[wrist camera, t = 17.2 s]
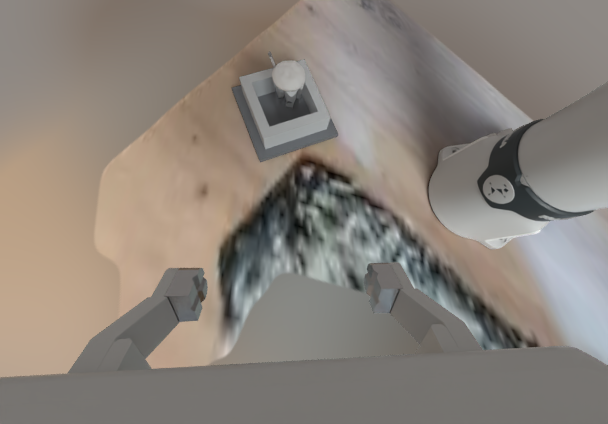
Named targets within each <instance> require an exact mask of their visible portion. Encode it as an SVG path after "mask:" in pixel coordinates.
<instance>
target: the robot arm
mask: <svg viewBox="0 0 608 424" xmlns="http://www.w3.org/2000/svg"><path fill="white" fill-rule="evenodd" d="M453 152H454V153H453ZM429 199H430V203H431V206H432V209H433V211H434V213H435V215H436V216H437V218H438V219H439V220H440V222H441V223H442V224H443V225H444V226H445V227H446V228H448V229H449V230H450V231H452V232H453V233H455V234H457V235H459V236H462V237H465V238H469V239H474V240H477V241H479V242H480V243H481V244H483V245H484V246H486V247H488V248H490V249H498V248H501V247H503V246H504V245H505V244H506V243H508V242H509V241H510V240H511V239H513V238H514V237H519V236H526V235H532V234H536V233H539V232H540V229H542V228H544V227H545V226H546V225H547V224H548V223H549V222H550V221H553V220H565V219H571V218H574V217H577V216H582V215H586V214H589V213H591V212H593V211H594V210H597V209H603V208H608V82H606V83H605V84H603V85H601V86H600V87H598V88H596V89H595V90H594V91H592V92H590V93H589V94H587V95H585V96H584V97H582V98H580V99H579V100H577V101H575V102H574V103H572V104H570V105H569V106H567V107H565V108H563V109H562V110H560V111H558V112H556V113H555V114H553V115H551V116H549V117H547V118H546V119H540V120H536V121H533V122H531V123H529V124H526V125H525V126H524V125H523V126H521V127H519V128H517V129H515V130H514V131H513V130H512V129H506V130H503V131H501V132H499V133H497V134H496V133H492V134H489V135H487V136H484V137H482V138H480V139H478V140H476V141H474V142H472V143H468V144H461V145H454V146H447V147H445V148H443V149H441V150H440V152H439V157H438V165H437V167H436V169H435V171H434V173H433V174H432V177H431V179H430V183H429ZM367 271H368V273H367V274H366V275H365V278H364V286H365V290H366V293H367V294H368V295H369V296H370V300H369V302H370V305H371V308H372V311H373V313H390V314H391V315H392V316H393V317H394V318H395V319H396V320H397V321H398V323H400V325H401V326H402V327H403V328H404V329H405V330H406V331H407V332H408V333H409V334H410V335H411V336H412V337H413V338H414V339H415V340H416V341H417V342H418V343H419V344H420V346H419V347H418V349H417V351H416V352H415V354H408V355H391V356H373V357H355V358H337V359H320V360H319V359H318V360H301V361H283V362H267V363H266V362H265V363H248V364H230V365H213V366H195V367H177V368H159V369H151V367H150V365H149V364H148V363H147V361H146V360H145V359H146V358H147V357H148V355H149V354H150V353H151V352H152V351H153V350H154V349H155V348H156V347H157V346H158V345H159V344H160V343H161V342H162V341H163V339H164V338H165V337H166V336H167V335H168V334H169V333H170V332H171V331H172V330H173V329H174V328H175V327H176V326H177V325H178V323H179V322H184V321H198V319H199V316H200V313H201V310H202V305H201V302H202V301H204V300H205V298H206V295H207V288H208V287H207V280H206V279H205V278H204V277H203V276H204V271H203V268H169V269H167V270H166V271H165V273H164V275H163V277H162V279H161V280H160V282H159V284H158V286H157V288H156V289H155V291H154V293H153V295H152V297H150V298H146V299H145V300H144V301H142V302H141V303H140V304H138V305H137V306H135V307H134V308H133V309H131V310H130V311H129V312H127V313H126V314H125V315H123V316H122V317H120V318H119V319H118V320H116V321H115V322H114V323H112V324H111V325H110V326H108V327H107V328H106V329H104V330H103V331H101V332H100V333H99V334H97V335H96V336H95V337H93V338H92V339H91V340H90V341H89V343H88V344H87V346H86V347H85V349H84V350H83V352H82V353H81V355H80V356H79V357H78V359H77V360H76V362H75V363H74V365H73V366H72V368H71V369H70V370H69V372H68V373H67V374H51V375H34V376H15V377H0V424H608V365H606V364H604V363H603V362H601V361H599V360H598V359H596V358H594V357H592V356H591V355H589V354H587V353H585V352H583V351H581V350H579V349H577V348H574V347H570V346H549V347H532V348H514V349H496V350H482V348H481V347H480V345H479V344H478V342H477V341H476V339H475V338H474V336H473V335H472V333H471V332H470V330H469V329H468V327H467V326H466V324H465V323H464V322H463V321H462V320H460V319H459V318H457V317H456V316H455V315H453V314H452V313H450V312H449V311H448V310H446V309H445V308H443V307H442V306H441V305H439V304H438V303H436V302H435V301H434V300H432V299H431V298H429V297H428V296H427V295H425V294H424V293H422V292H421V291H420V290H418V289H414V288H413V286H412V284H411V282H410V280H409V279H408V277H407V275H406V273H405V272H404V270H403V268H402V266H401V265H400V263H370V264H368V267H367Z"/></svg>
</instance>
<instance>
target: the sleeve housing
mask: <svg viewBox="0 0 608 424" xmlns="http://www.w3.org/2000/svg"><path fill="white" fill-rule="evenodd" d="M296 62H297V63H298V64H300V65H301V66H302V67H303V69H304V71H305V82H304V86H303V90H302V94H301V98H300V103H299V108H298V112H297V116H296V117H295V118H294V119H292V120H285V119H283V118H282V117H280V114H279V112H278V106H277V100H276V94H275V88H274V83H273V78H272V72H273V69H274V68H271V69H267V70H263V71H260V72H256V73H252V74H249V75H245V76H242V77H239V79H240V83H241V85H240V86H236V87H233V88H232V91H233V93H234V96H235V99H236V101H237V104H238V106H239V109H240V111H241V114H242V117H243V119H244V122H245V124H246V127H247V130H248V132H249V135H250V137H251V140H252V142H253V145H254V148H255V150H256V153H257V155H258V158H259V160H260V162H263V161H266V160H269V159H272V158H275V157H278V156H281V155H283V154H286V153H289V152H292V151H295V150H298V149H301V148H304V147H307V146H310V145H313V144H316V143H319V142H322V141H325V140H328V139H331V138H334V137H337V136H338V133H337V130H336V128H335V126H334V124H333V122H332V119H331V117H330V114H329V112H328V110H327V108H326V106H325V103H324V101H323V99H322V97H321V95H320V92H319V90H318V88H317V86H316V84H315V81H314V79H313V77H312V75H311V73H310V70H309V68H308V66H307V64H306V62H305V59H303V60H300V61H296Z"/></svg>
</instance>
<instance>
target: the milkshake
mask: <svg viewBox="0 0 608 424" xmlns="http://www.w3.org/2000/svg"><path fill="white" fill-rule="evenodd" d="M268 55H269V57H270V60H271V62H272V65H273V67H274V69H273V72H272V78H273V83H274V88H275V94H276V100H277V106H278V112H279V114H280V117H282V118H283V119H285V120H292V119H294V118H295V117H296V116H297V112H298V108H299V103H300V98H301V94H302V90H303V86H304V82H305V71H304V69H303V67H302V66H301V65H300V64H298V63H297V62H296V61H294V60H289V61H286V60H285V61H282V62H280V63H278V64H277V65H275V62H274V60H273V57H272V55H271V52H270V51H269V53H268Z"/></svg>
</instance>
